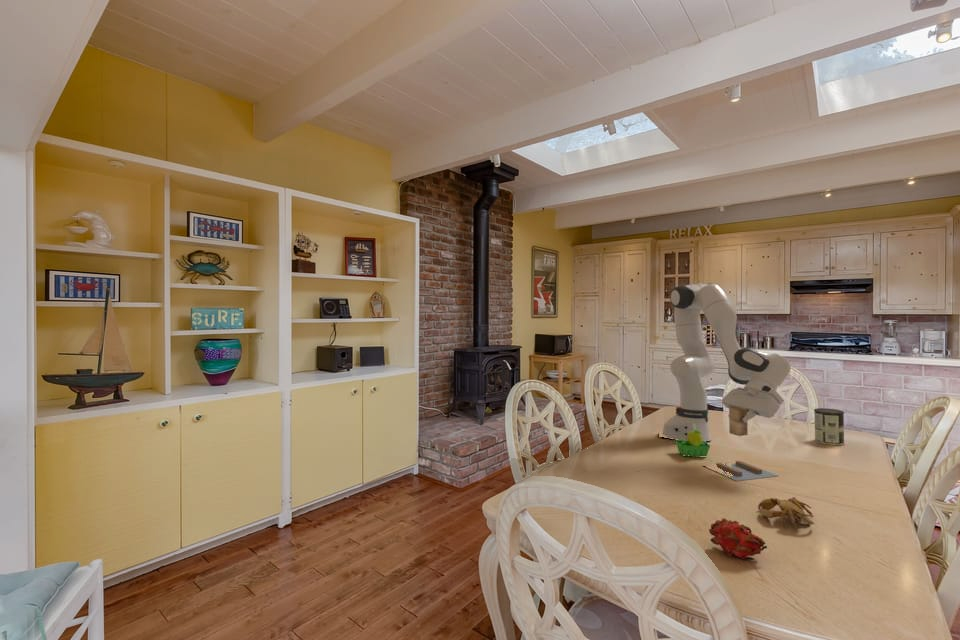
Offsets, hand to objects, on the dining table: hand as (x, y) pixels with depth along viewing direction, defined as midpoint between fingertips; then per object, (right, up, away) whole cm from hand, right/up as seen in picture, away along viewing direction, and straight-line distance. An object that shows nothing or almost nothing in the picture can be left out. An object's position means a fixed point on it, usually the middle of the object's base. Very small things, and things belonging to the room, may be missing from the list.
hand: (736, 419), depth 157 cm
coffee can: (+61, -18, +34) cm, 72 cm away
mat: (+1, -19, 0) cm, 19 cm away
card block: (+1, -5, 0) cm, 5 cm away
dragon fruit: (-33, -20, -54) cm, 66 cm away
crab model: (-9, -20, -37) cm, 43 cm away
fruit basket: (-7, -19, +18) cm, 27 cm away
